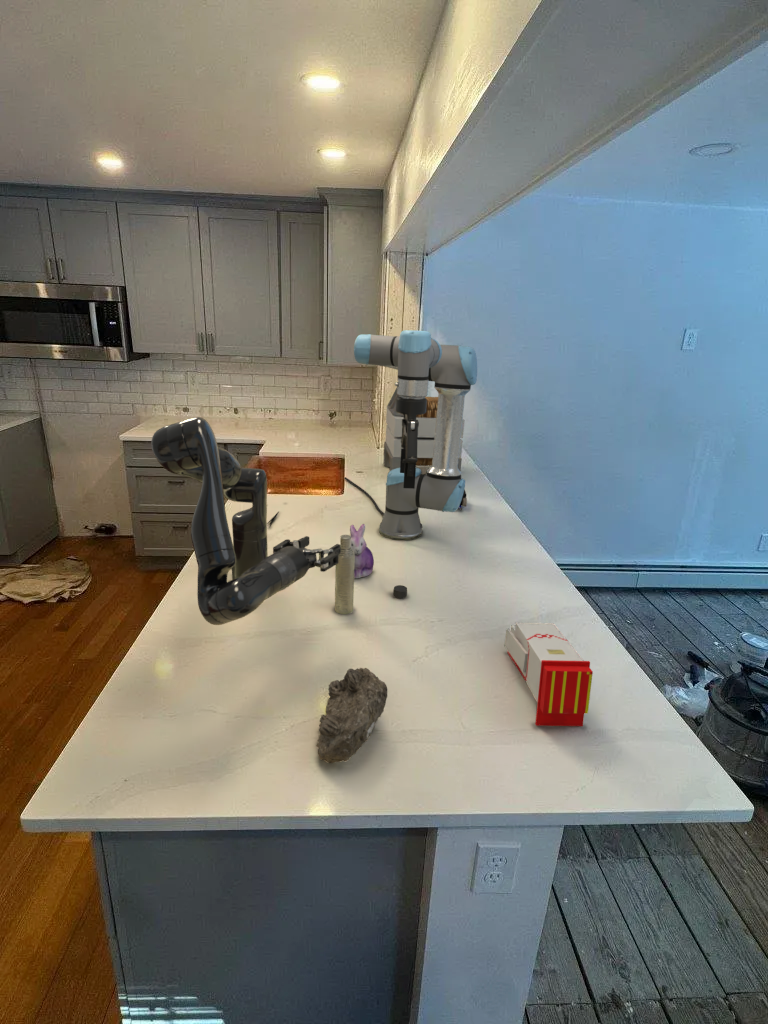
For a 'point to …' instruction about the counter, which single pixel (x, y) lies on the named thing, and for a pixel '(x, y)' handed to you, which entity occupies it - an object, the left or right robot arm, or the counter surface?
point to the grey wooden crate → (424, 434)
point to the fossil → (350, 714)
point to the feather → (272, 520)
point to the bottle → (344, 577)
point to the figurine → (361, 553)
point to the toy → (551, 672)
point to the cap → (400, 592)
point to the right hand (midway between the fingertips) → (406, 480)
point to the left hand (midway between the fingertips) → (323, 543)
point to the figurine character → (463, 500)
